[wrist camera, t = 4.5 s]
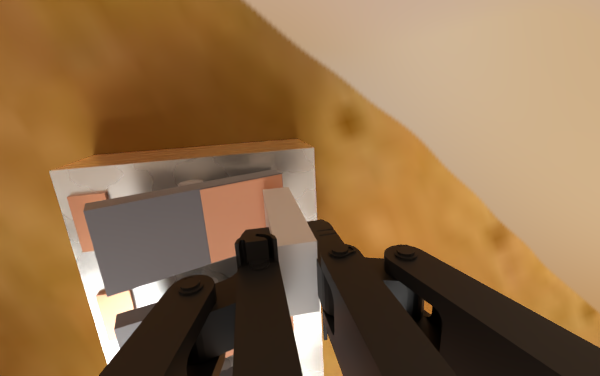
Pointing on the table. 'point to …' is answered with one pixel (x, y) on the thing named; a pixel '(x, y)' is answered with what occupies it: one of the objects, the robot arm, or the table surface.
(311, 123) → the table surface
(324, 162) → the table surface
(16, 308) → the table surface
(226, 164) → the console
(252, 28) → the table surface
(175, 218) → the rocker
